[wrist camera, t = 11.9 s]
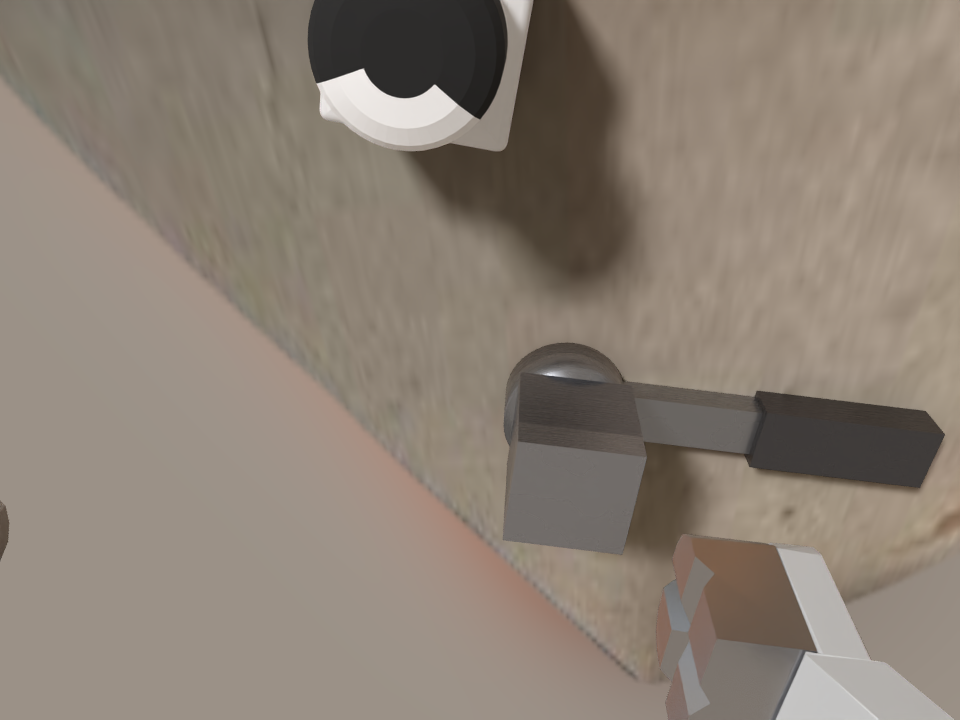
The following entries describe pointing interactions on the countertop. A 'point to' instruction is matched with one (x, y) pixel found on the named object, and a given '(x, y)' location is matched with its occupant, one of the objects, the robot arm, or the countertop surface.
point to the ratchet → (760, 423)
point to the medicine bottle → (420, 69)
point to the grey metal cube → (573, 464)
